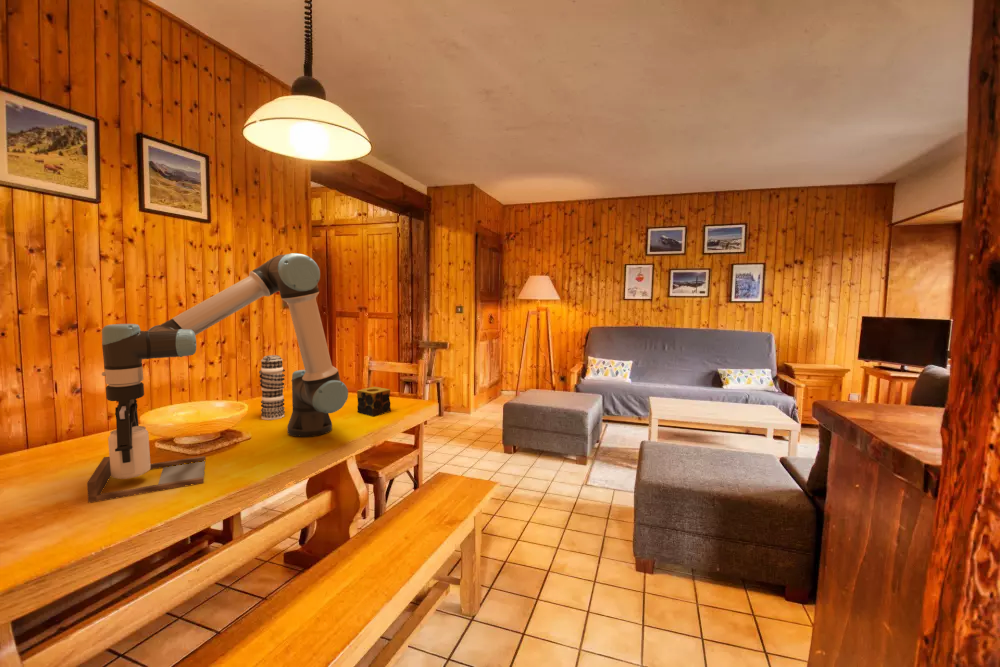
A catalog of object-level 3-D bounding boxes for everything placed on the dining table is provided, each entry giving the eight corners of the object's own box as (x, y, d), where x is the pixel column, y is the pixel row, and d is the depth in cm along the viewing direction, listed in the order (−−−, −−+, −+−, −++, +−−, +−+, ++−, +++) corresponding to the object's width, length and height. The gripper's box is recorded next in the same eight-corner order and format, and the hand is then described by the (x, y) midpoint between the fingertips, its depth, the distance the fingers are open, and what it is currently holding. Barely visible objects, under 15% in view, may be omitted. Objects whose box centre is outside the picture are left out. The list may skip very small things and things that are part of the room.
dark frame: (205, 459, 133) (204, 443, 133) (203, 482, 118) (202, 464, 117) (105, 474, 121) (104, 457, 120) (88, 502, 105) (87, 482, 105)
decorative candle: (268, 413, 183) (267, 354, 181) (290, 414, 183) (289, 354, 180) (255, 419, 174) (253, 357, 172) (278, 420, 174) (276, 358, 171)
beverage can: (119, 469, 119) (116, 426, 118) (155, 466, 122) (152, 424, 121) (105, 482, 112) (101, 436, 110) (143, 478, 114) (140, 433, 113)
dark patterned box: (391, 411, 191) (391, 389, 190) (373, 417, 183) (373, 393, 182) (374, 407, 197) (375, 386, 196) (356, 412, 188) (356, 390, 187)
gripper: (113, 377, 121) (119, 457, 123) (96, 393, 103) (103, 486, 106) (148, 374, 125) (153, 452, 127) (137, 390, 107) (143, 479, 110)
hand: (130, 467), depth 117 cm, fingers closed on beverage can, 8 cm apart
